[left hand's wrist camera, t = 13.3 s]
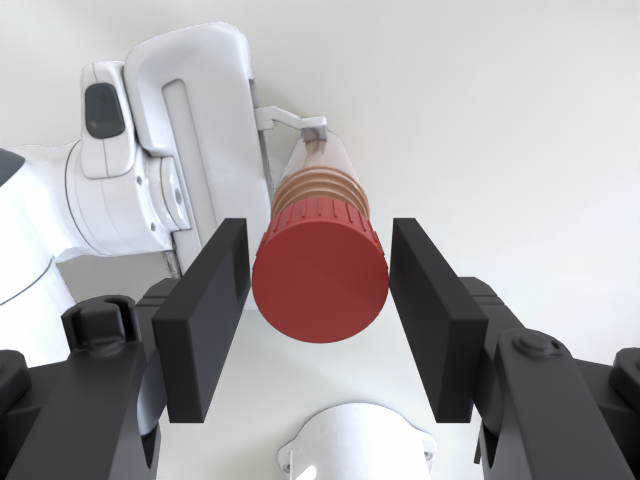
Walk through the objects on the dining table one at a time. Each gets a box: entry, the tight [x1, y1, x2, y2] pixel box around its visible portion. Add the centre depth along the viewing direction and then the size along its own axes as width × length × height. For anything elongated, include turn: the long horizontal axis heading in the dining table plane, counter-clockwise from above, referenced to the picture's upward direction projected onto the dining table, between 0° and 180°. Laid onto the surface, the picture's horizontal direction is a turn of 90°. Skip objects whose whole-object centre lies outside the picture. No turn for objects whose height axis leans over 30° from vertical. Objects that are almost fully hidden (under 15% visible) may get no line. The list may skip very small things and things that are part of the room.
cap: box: [251, 197, 389, 343], centre depth 13 cm, size 4×4×3 cm
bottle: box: [270, 131, 370, 221], centre depth 23 cm, size 5×5×24 cm
